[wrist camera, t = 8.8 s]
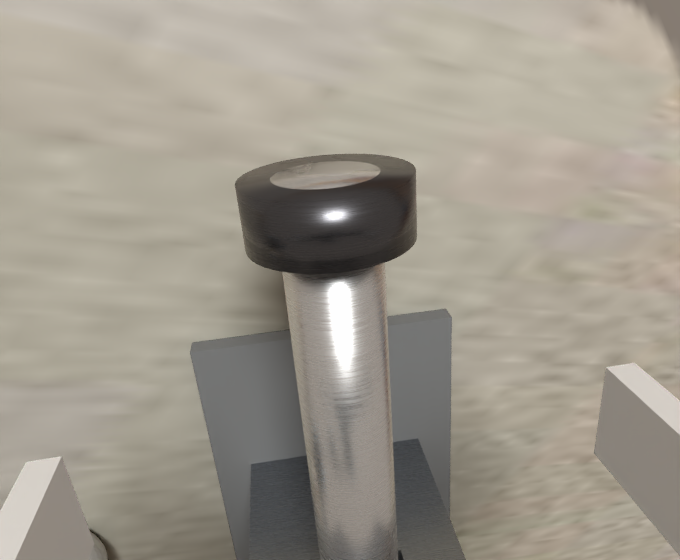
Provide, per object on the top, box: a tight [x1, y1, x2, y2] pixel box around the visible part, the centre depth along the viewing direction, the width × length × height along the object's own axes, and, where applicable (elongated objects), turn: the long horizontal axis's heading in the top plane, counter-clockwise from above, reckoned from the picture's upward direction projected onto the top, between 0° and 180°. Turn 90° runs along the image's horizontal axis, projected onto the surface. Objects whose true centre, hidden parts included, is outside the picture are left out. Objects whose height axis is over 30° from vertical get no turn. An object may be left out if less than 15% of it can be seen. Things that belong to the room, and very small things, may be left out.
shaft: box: [235, 154, 417, 560], centre depth 21 cm, size 5×24×5 cm, turn 4°
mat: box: [190, 309, 452, 560], centre depth 34 cm, size 14×24×1 cm, turn 4°
